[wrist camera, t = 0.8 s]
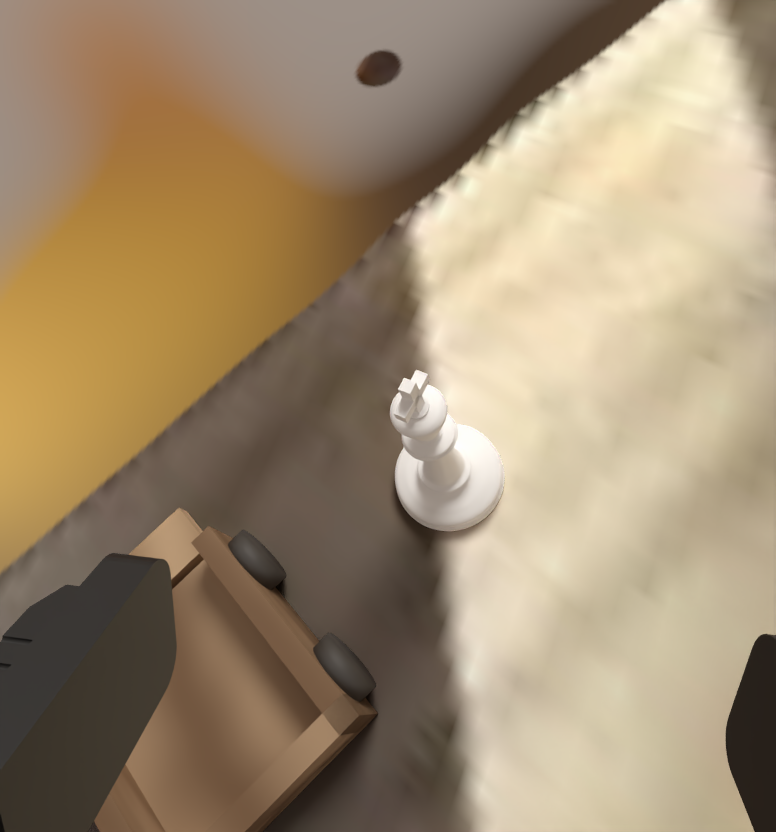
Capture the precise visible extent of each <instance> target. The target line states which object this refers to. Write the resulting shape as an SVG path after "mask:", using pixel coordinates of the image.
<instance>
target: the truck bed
mask: <svg viewBox="0 0 776 832" xmlns="http://www.w3.org/2000/svg"><path fill="white" fill-rule="evenodd" d="M129 555H134V556H142V557H151V558H159V559H164V560H166V561H167V563H168V565H169V568H170V573H171V583H172V595H173V607H174V618H175V630H176V642H177V651H176V660H175V665H174V670H173V673H172V677H171V680H170V683H169V685H168V687H167V689H166V691H165V693H164V695H163V697H162V699H161V701H160V702H159V704H158V706H157V708H156V710H155V711H154V713H153V715H152V717H151V719H150V721H149V722H148V724H147V726H146V728H145V730H144V731H143V733H142V735H141V737H140V739H139V740H138V742H137V744H136V746H135V748H134V749H133V751H132V753H131V755H130V757H129V759H128V760H127V762H126V764H125V766H124V768H123V769H122V771H121V773H120V775H119V777H118V778H117V780H116V782H115V784H114V786H113V787H112V789H111V791H110V793H109V795H108V796H107V798H106V800H105V802H104V804H103V806H102V807H101V809H100V811H99V813H98V815H97V816H96V818H95V820H94V822H95V824H96V826H97V828H98V829H99V831H100V832H263V831H264V830H265V829H266V828H267V826H268V825H269V824H270V823H271V822H272V821H273V820H274V819H275V818H276V817H277V816H278V815H279V814H280V813H281V812H282V811H283V810H284V809H285V808H286V807H287V806H288V805H289V804H290V803H291V802H292V801H293V800H294V799H295V798H296V797H297V796H298V795H299V794H300V793H301V792H302V791H303V790H304V789H305V788H306V787H307V786H308V785H309V784H310V783H311V782H312V781H313V780H314V779H315V778H316V776H317V775H318V774H319V773H320V772H321V771H322V770H323V769H324V768H325V767H326V766H327V765H328V764H329V763H330V762H331V761H332V760H333V759H334V758H335V757H336V756H337V755H338V754H339V753H340V752H341V751H342V750H343V749H344V748H345V747H346V746H347V745H348V744H349V743H350V742H351V741H352V740H353V739H354V738H355V737H356V736H357V735H358V734H359V733H360V732H361V731H362V730H363V729H364V728H365V726H366V725H367V724H368V723H369V722H370V721H371V720H372V719H373V718H374V717H375V716H376V715H377V714H378V713H377V712H376V710H375V709H374V708H373V707H372V705H371V704H370V703H369V702H368V701H367V699H366V698H365V697H366V696H367V695H368V694H369V693H370V692H371V691H372V690H373V689H374V688H375V687H376V683H375V681H374V679H373V677H372V676H371V674H370V673H369V671H368V670H367V669H366V667H365V666H364V665H363V663H362V662H361V661H360V660H359V659H358V657H357V656H356V655H355V654H354V653H353V652H352V651H351V650H350V649H349V648H348V647H347V646H346V645H345V644H344V643H343V642H342V641H341V640H340V639H339V638H337V637H336V636H335V635H333V634H331V633H328V634H327V635H325V636H324V637H323V638H322V639H321V640H320V641H319V640H318V639H317V638H316V636H315V635H314V634H313V633H312V631H311V630H310V629H309V628H308V627H307V625H306V624H305V623H304V622H303V620H302V619H301V618H300V617H299V615H298V614H297V613H296V612H295V611H294V609H293V608H292V607H291V606H290V604H289V603H288V602H287V601H286V599H285V598H284V597H283V596H282V594H281V593H280V592H279V591H278V590H277V588H276V586H277V585H278V584H279V583H280V582H281V581H282V580H283V579H284V578H285V577H286V573H285V571H284V569H283V568H282V566H281V565H280V564H279V562H278V561H277V560H276V559H275V557H274V556H273V555H272V554H271V553H270V552H269V551H268V550H267V549H266V548H265V547H264V546H263V545H262V544H261V543H260V542H259V541H258V540H257V539H256V538H255V537H254V536H252V535H251V534H250V533H248V532H247V531H245V530H242V531H240V532H239V533H238V534H237V535H236V536H235V537H234V538H232V537H230V536H228V535H226V534H224V533H222V532H220V531H218V530H216V529H214V528H212V527H210V526H208V527H207V528H206V529H205V530H204V531H202V530H201V529H200V527H199V526H198V525H197V524H196V522H195V521H194V520H193V519H192V517H191V516H190V515H189V513H188V512H187V511H185V510H183V509H181V508H178V509H177V510H176V511H175V512H174V513H173V514H172V515H171V516H169V517H168V518H167V519H166V520H165V521H164V522H163V523H162V524H161V525H160V526H159V527H158V528H157V529H155V530H154V531H153V532H152V533H151V534H150V535H149V536H148V537H147V538H146V539H145V540H144V541H143V542H142V543H140V544H139V545H138V546H137V547H136V548H135V549H134V550H133V551H132V552H131V553H130V554H129Z"/></svg>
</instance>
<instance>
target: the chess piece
mask: <svg viewBox="0 0 776 832" xmlns="http://www.w3.org/2000/svg"><path fill="white" fill-rule="evenodd" d="M429 381H430V379H429V376H428V374H426V373H423V372H421V371H418V370H416V371H415V373H414V375H413V377H412V379H411V380H409V379H406V378H404V379H403V381H402V383H401V385H400V387H399V389H398V390H399V393H398V394H397V395H396V396H395V398H394V399H393V401H392V404H391V407H390V418H391V421H392V424H393V426H394V427H395V428H396V430H397V431H398V432H400V433H401V434H402V443H403V446H404V448H403V450H402V451H401V453H400V455H399V458H398V460H397V464H396V468H395V485H396V490H397V494H398V497H399V500H400V502H401V504H402V506H403V507H404V509H405V510H406V511H407V513H408V514H409V515H410V516H411V517H412V518H413V519H415V520H416V521H417V522H419V523H420V524H422V525H424V526H426V527H428V528H431V529H435V530H439V531H458V530H462V529H466V528H469V527H471V526H473V525H475V524H477V523H479V522H480V521H482V520H483V519H484V518H486V517H487V516H488V515H489V514H490V513H491V512H492V510H493V509H494V508H495V506H496V505H497V503H498V501H499V499H500V497H501V495H502V492H503V488H504V481H505V473H504V466H503V462H502V459H501V457H500V455H499V453H498V451H497V449H496V448H495V447H494V445H493V444H492V443H491V441H490V440H489V439H488V438H487V437H486V436H485V435H483V434H482V433H481V432H479V431H478V430H476V429H474V428H472V427H469V426H466V425H463V424H457V423H455V421H454V420H453V418H452V417H451V416H450V415H449V414H448V413H447V403H446V400H445V398H444V396H443V395H442V393H441V392H440V391H439V390H438V389H436V388H435V387H433V386H430V385H428V383H429Z"/></svg>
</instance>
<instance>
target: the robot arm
mask: <svg viewBox="0 0 776 832" xmlns="http://www.w3.org/2000/svg"><path fill="white" fill-rule="evenodd" d="M176 651H177V642H176V630H175V618H174V607H173V595H172V583H171V573H170V568H169V565H168V563H167V561H166V560H164V559H159V558H151V557H142V556H134V555H126V554H118V553H111V554H109V555H107V556H106V557H105V558H104V559H103V560H102V561H101V562H100V563H99V564H98V566H97V567H96V568H95V569H94V570H93V571H92V573H91V574H90V575H89V576H88V577H87V578H86V579H85V581H84V582H83V583H82V584H81V585H80V586H72V585H65V586H63V587H62V588H60V589H58V590H57V591H55V592H54V593H52V594H50V595H49V596H47V597H45V598H44V599H42V600H40V601H39V602H37V603H35V604H34V605H32V606H30V607H29V608H28V609H27V610H26V611H25V612H24V613H23V615H22V616H21V617H20V618H19V619H18V620H17V621H16V622H15V623H14V624H13V625H12V626H11V627H10V628H9V630H8V631H7V632H6V633H5V634H4V635H3V638H2V641H1V642H0V832H88V831H89V829H90V827H91V825H92V824H93V822H94V820H95V818H96V816H97V815H98V813H99V811H100V809H101V807H102V806H103V804H104V802H105V800H106V798H107V796H108V795H109V793H110V791H111V789H112V787H113V786H114V784H115V782H116V780H117V778H118V777H119V775H120V773H121V771H122V769H123V768H124V766H125V764H126V762H127V760H128V759H129V757H130V755H131V753H132V751H133V749H134V748H135V746H136V744H137V742H138V740H139V739H140V737H141V735H142V733H143V731H144V730H145V728H146V726H147V724H148V722H149V721H150V719H151V717H152V715H153V713H154V711H155V710H156V708H157V706H158V704H159V702H160V701H161V699H162V697H163V695H164V693H165V691H166V689H167V687H168V685H169V683H170V680H171V677H172V673H173V670H174V665H175V660H176ZM726 751H727V758H728V763H729V767H730V770H731V773H732V776H733V778H734V781H735V783H736V786H737V788H738V791H739V793H740V796H741V798H742V801H743V803H744V806H745V808H746V811H747V813H748V816H749V818H750V821H751V824H752V826H753V829H754V831H755V832H776V635H770V634H763V635H761V636H759V637H758V638H757V640H756V641H755V643H754V645H753V648H752V650H751V653H750V656H749V659H748V662H747V665H746V668H745V671H744V674H743V677H742V680H741V682H740V685H739V688H738V691H737V694H736V697H735V700H734V703H733V706H732V709H731V712H730V715H729V718H728V721H727V727H726Z"/></svg>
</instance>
